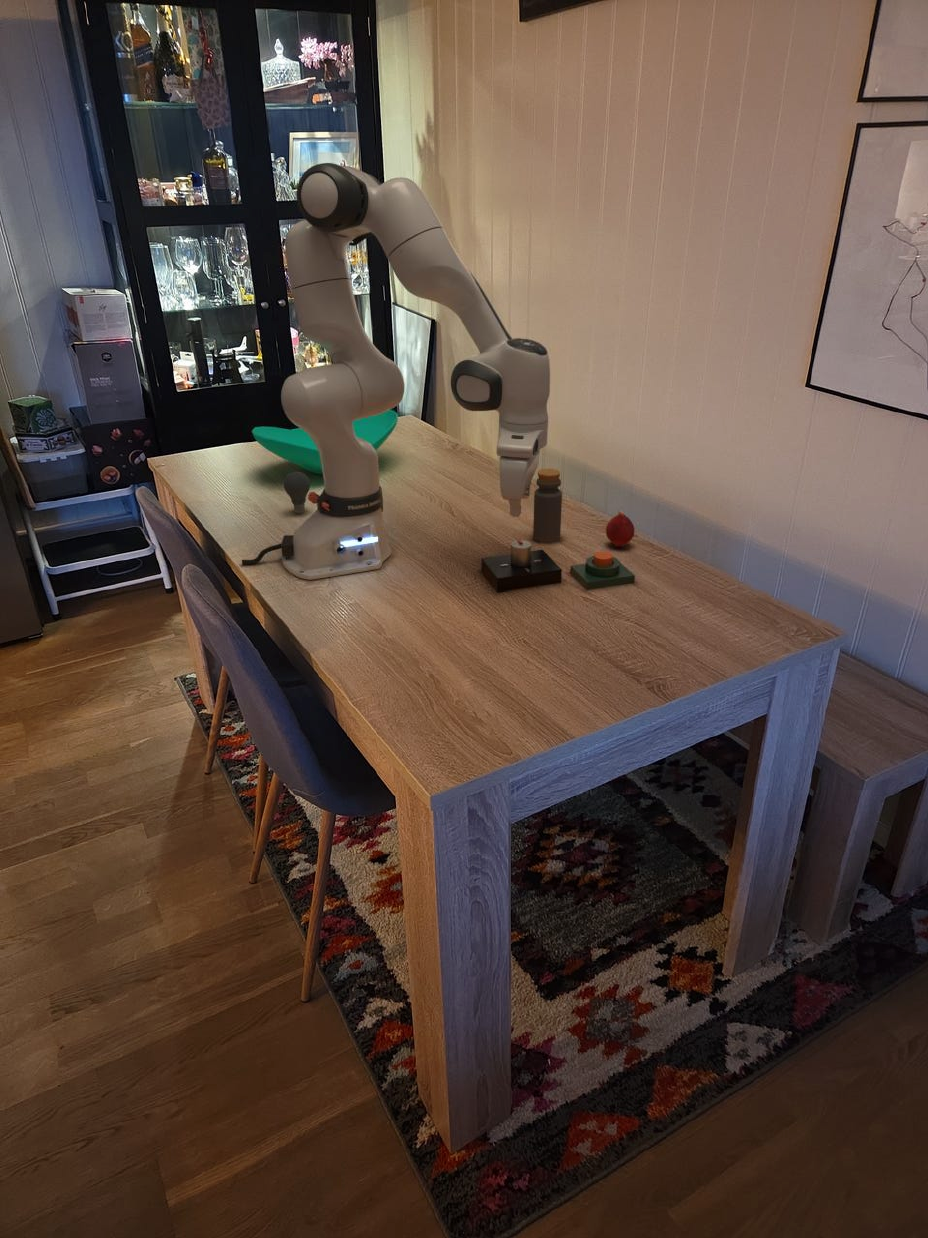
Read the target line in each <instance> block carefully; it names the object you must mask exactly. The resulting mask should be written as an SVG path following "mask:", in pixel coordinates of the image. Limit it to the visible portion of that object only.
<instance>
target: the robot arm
mask: <svg viewBox="0 0 928 1238" xmlns="http://www.w3.org/2000/svg"><path fill="white" fill-rule="evenodd" d="M296 202H297V207H298V210H299V212H300V214H301V215H302V217H303V218H304V219H303V220H300V221H298V222H296V223H295V224H293V225H292V226H291V227H290V228H289V229H288V230H287V232H286V234H285V238H284V246H285V248H284V249H285V251H284V252H285V261H286V262H285V263H286V269H287V276H288V281H289V286H290V290H291V295H292V299H293V304H294V308H295V312H296V317H297V321H298V325H299V330H300V331H301V333H302V335H303V336H304V337H305V339H307V340H309V341H310V342H312V343H314V344H317V345H319V346H321V347H322V348H323V349H324V350H325V352H326V353H327V354H328V356H329V358H330V359H331V361H332V363H329V364H324V365H317V366H313V367H308V368H306V369H303V370H301V371H298V372H296V373H293V374H292V375H289V376H288V377H287V378H286V379H285V380H284V383H283V385H282V388H281V393H280V400H281V406H282V409H283V411H284V414H285V415H286V417H287V418H288V420H289V421H290V422H291V423H292V424H293V425H294V426H296V427H297V428H301V429H303V430H304V431H305V432H306V433H307V434H308V435H309V436H310V437H311V438H312V440H313V441H314V443H315V445H316V447H317V449H318V452H319V455H320V459H321V465H322V471H323V475H322V479H323V487H324V488H323V490H322V492H321V494H318V493H316V492H315V491H309V492H308V494H307V500H308V501H309V502H311V504H316V508H317V509H316V510H315V511H314V512H313V513H312V514H311V515H310V516H309V517H308V518H307V519H305V521H304V522H303V523H302V524H301V525H299V526H298V527H297V528H296V529H295V530H294V532H293V534H287V535H285V534H284V535H283V538H282V541H281V543H277V544H274V545H270V546H268V547H266V548H264V549H262V550H261V551H260V552H259V554H257V557H255V558H253V559H241V565H256V564H258V563H260V562H261V561H262V559H263V557H265V555H267V554H268V553H270V552H273V551H277V550H280V551H281V558H282V559H281V563H282V566H283V567H284V569H286V571H288V572H289V573H290V574H292V575H293V576H295V577H297V578H300V579H303V580H309V581H310V580H311V581H312V580H318V579H319V580H320V579H324V578H330V577H336V576H343V575H350V574H355V573H362V572H367V571H368V572H369V571H372V570H373V571H375V570H379V569H381V568H382V565H383V563H384V562H385V561H386V560H387V559H388V558H389V557H390V556H391V554H392V548H391V546H390V542H389V540H388V536H387V532H386V529H385V523H384V516H383V511H384V497H383V489H382V486H381V485H380V472H379V455H378V452H377V450H375V449H374V447H373V446H372V445H371V444H370V443H369V442H367V441H365V440H363V439H361V438H358V437H356V435H355V433H354V429H353V421H354V420H358V419H362V418H367V417H371V416H375V415H379V414H382V413H384V412H386V411H388V410H393V409H394V408H396V407H397V406H399V404H401V402H402V401H403V398H404V395H405V389H406V388H405V385H406V384H405V379H404V375H403V372H402V371H401V369H400V367H399V366H398V365H397V364H396V363H395V361H393V360H392V359H390V358H389V357H387V356H386V355H384V354H383V353H382V352H381V351H380V350H379V349H378V348H377V347H376V346H375V345H374V343H373V341H372V340H371V338H369V335H368V333H367V331H366V330H365V328H364V326H363V322H362V321H361V318H360V314H359V310H358V306H357V302H356V298H355V294H354V291H353V285H352V280H351V276H350V272H349V268H348V263H347V249H348V247H349V246H351V247H355V246H358V245H359V244H360V243H362V242H363V241H364V240H366V239H367V238H369V237H371V236H373V235H374V237H376V239H377V241H378V242H379V244H380V245H381V248H382V250H383V252H384V254H385V257H386V258H387V260H388V263H389V264H390V267H391V269H392V272H393V273H394V274H395V276H396V278H397V279H398V281H399V283H401V285H402V287H404V289H405V290H406V291H407V292H408V293H410V294H411V295H413V296H415V297H417V298H421V299H424V300H428V301H431V302H434V303H437V304H440V305H442V306H444V307H446V308H447V309H450V310H451V311H452V312H453V313H454V314H455V315H456V316H457V317H458V318H459V319H460V321H461V323H462V324H463V326H464V327H465V330H466V331H467V333H468V334H469V336H470V338H471V339H472V341H473V343H474V344H475V346H476V348H477V350H478V351H479V353H477V354H474V355H472V356H469V357H467V358H464V359H463V360H461V361H459V362H458V363H457V364H456V365H455V366H454V367H453V370H452V372H451V375H450V389H451V393H452V396H453V398H454V400H455V401H456V402H457V403H458V405H459V406H460V407H462V408H463V409H464V410H466V411H470V412H490V411H496V412H497V413H498V434H497V435H498V440H497V444H496V456H497V457H499V485H500V486H499V487H500V495H501V497H502V499H503V500H506V501H508V504H509V516H511V517H514V518H519V517H520V515H521V513H522V505H521V502H522V500H523V499H525V500H526V499H529V496H530V493H531V492H530V491H531V484H532V481H533V480H532V479H533V478H534V475H535V473H536V472H537V470H538V468H539V463H540V454H541V453H540V452H541V449H543V448H545V447H546V446H547V445H548V433H549V418H550V417H549V411H548V402H549V398H550V397H551V380H552V379H551V377H552V376H551V360H550V354H549V351H548V350H547V348H546V347H545V346H544V345H543V344H542V343H540V342H538V341H536V340H533V339H529V338H520V337H515V338H512V336H511V335H510V333H509V332H508V330H507V329H506V327H505V326H504V324H503V322H502V320H501V319H500V316H499V315H498V313H497V312H496V310H495V308H494V307H493V304H492V303H491V301H490V300H489V298H488V296H487V294H486V293H485V291H484V290H483V288H482V287H481V285H480V283H479V281H478V280H477V278H475V276H474V275H473V273H472V272H471V271H470V269H469V268H468V267H467V266H466V265H465V263H464V262H463V261H462V259H461V257H460V256H459V254H458V253H457V251H456V250H455V248H454V246H453V244H452V242H451V240H450V238H449V236H448V235H447V233H446V230H445V229H444V227H443V224H442V222H441V221H440V219H439V217H438V215H437V213H436V211H435V210H434V208H433V206H432V204H431V203H430V201H429V200H428V199H427V197H426V195H425V193H424V192H423V191H422V189H421V188H420V187H419V185H418V184H417V183H416V181H414V180H412V179H411V178H407V177H393V178H390V179H388V180H386V181H384V182H383V183H381V182H380V181H379V180H378V179H377V178H376V177H374V176H373V175H372V174H369V173H366V172H364V171H363V170H360V169H359V168H356V167H353V166H349V165H341V164H337V163H334V162H322V163H321V162H320V163H318V164H315V165H312V166H311V167H309V168H308V169H306V170H305V171H304V172H303V174H302V175H301V177H300V178H299V181H298V184H297V187H296Z"/></svg>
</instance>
